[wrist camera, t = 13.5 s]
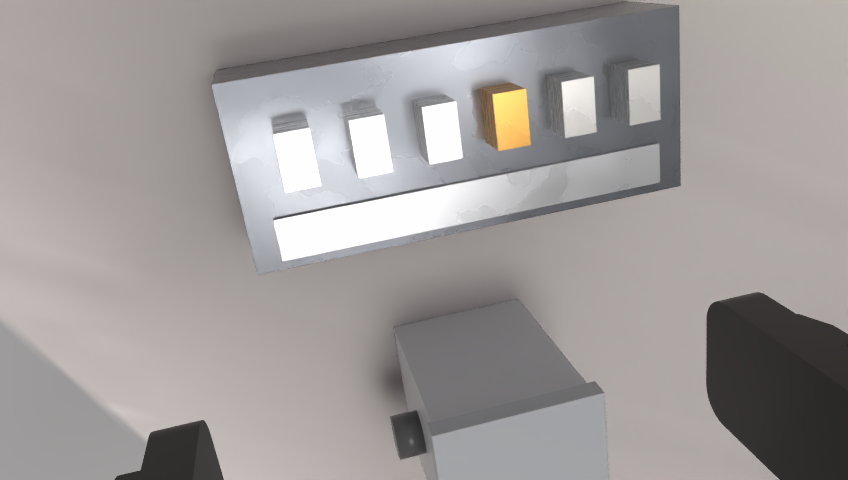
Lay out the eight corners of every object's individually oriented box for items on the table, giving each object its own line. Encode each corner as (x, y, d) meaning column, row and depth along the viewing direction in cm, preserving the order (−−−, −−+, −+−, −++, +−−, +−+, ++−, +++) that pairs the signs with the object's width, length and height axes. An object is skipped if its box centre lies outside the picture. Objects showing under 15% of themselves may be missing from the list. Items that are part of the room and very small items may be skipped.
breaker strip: (628, 1, 31) (702, 7, 26) (633, 162, 33) (701, 196, 28) (216, 70, 28) (208, 91, 23) (256, 238, 31) (257, 291, 26)
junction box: (521, 293, 34) (604, 392, 26) (532, 408, 37) (611, 531, 29) (369, 328, 33) (406, 442, 25) (390, 443, 36) (431, 582, 27)
